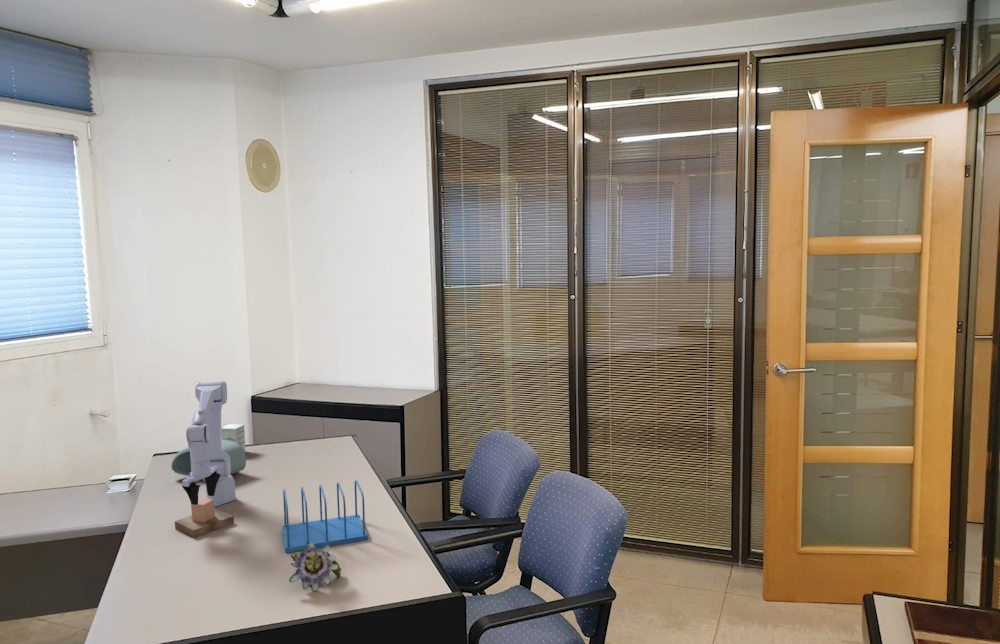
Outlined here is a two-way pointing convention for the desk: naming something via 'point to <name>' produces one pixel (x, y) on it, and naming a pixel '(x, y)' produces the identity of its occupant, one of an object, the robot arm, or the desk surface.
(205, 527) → the block
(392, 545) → the desk surface
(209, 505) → the terracotta block
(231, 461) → the green rounded shell
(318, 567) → the passion flower
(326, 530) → the file sorter
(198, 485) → the robot arm
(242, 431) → the supplement box
